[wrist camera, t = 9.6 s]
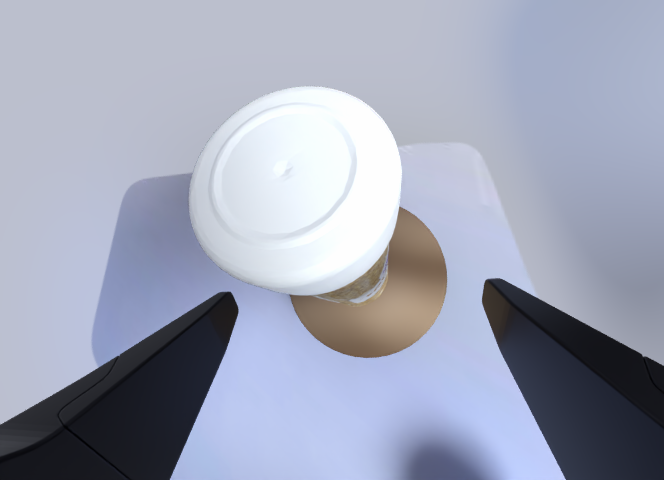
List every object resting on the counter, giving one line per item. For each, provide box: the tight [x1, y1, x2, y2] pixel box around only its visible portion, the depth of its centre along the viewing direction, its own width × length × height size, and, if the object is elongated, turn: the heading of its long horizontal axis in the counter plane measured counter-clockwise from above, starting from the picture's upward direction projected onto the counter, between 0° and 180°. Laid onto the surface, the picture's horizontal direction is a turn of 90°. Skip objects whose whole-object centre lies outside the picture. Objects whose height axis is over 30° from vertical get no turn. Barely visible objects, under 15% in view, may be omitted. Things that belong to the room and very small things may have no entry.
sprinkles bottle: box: [189, 86, 402, 307], centre depth 11 cm, size 5×5×14 cm
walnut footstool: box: [290, 207, 447, 358], centre depth 19 cm, size 11×11×4 cm
